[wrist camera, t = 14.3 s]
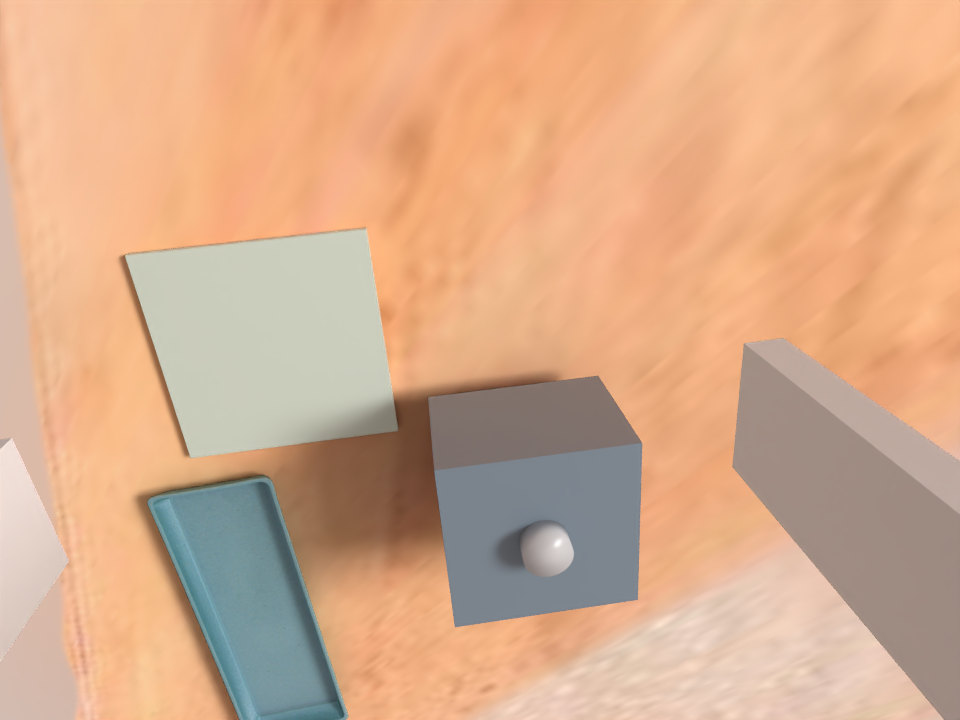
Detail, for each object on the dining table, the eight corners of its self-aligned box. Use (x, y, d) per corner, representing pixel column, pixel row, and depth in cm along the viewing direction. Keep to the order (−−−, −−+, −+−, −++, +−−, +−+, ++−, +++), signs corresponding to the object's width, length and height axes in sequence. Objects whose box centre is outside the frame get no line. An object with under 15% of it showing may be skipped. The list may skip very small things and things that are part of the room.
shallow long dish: (153, 482, 48) (141, 502, 45) (275, 461, 48) (269, 480, 46) (252, 715, 59) (246, 741, 56) (351, 696, 59) (349, 720, 57)
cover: (428, 397, 44) (435, 486, 34) (598, 375, 45) (651, 457, 35) (445, 535, 49) (457, 646, 39) (598, 513, 50) (645, 617, 40)
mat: (128, 253, 40) (124, 255, 40) (366, 227, 41) (365, 229, 41) (192, 453, 47) (190, 458, 46) (398, 426, 48) (398, 430, 47)
